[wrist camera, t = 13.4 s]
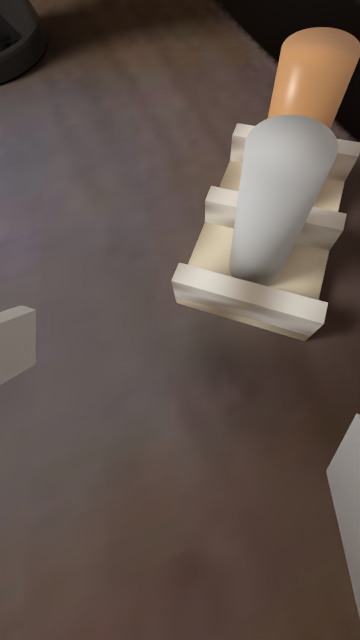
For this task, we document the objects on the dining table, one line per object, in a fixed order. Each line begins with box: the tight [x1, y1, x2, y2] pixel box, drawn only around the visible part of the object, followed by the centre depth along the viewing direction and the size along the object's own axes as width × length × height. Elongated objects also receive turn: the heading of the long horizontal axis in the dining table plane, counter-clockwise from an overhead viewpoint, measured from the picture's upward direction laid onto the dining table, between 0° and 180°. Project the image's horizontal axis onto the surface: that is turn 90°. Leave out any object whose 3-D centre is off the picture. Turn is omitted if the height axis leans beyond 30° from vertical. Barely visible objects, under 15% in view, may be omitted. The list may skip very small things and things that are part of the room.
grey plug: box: [229, 115, 338, 286], centre depth 17 cm, size 4×4×10 cm
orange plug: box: [268, 27, 360, 129], centre depth 20 cm, size 4×4×10 cm
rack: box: [172, 123, 360, 341], centre depth 23 cm, size 10×16×4 cm, turn 160°
